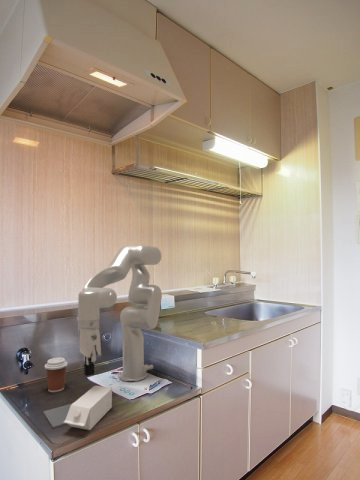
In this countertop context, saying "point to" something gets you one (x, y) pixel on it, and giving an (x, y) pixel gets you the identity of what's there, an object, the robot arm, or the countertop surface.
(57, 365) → the coffee cup
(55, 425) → the mat
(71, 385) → the countertop surface
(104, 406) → the milk carton
